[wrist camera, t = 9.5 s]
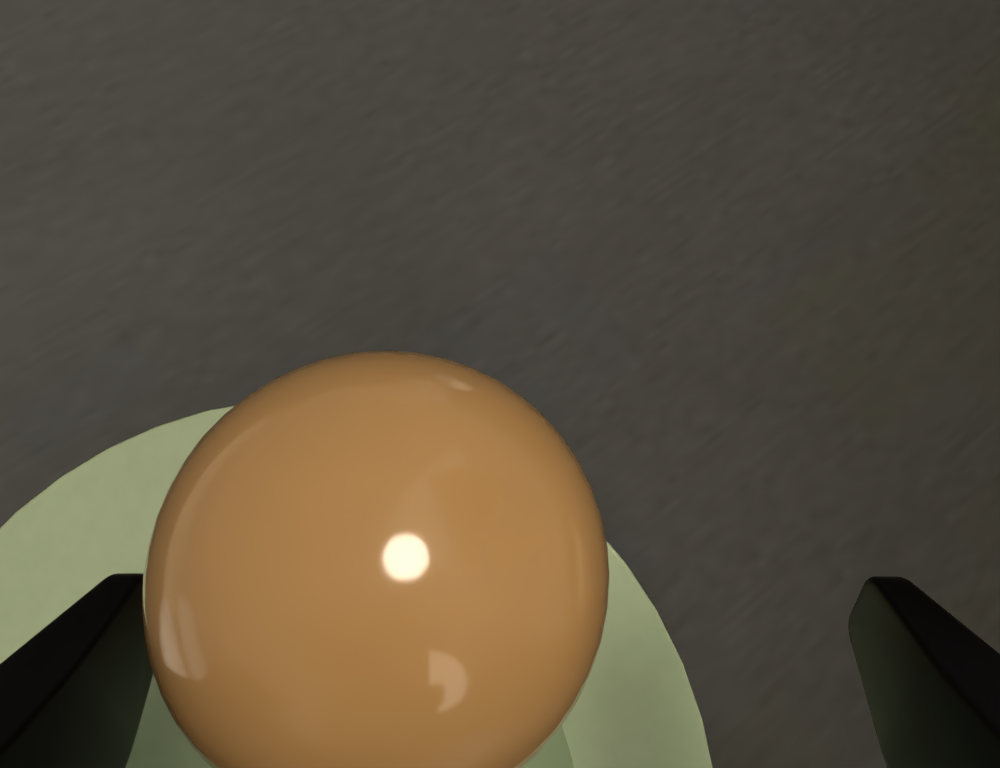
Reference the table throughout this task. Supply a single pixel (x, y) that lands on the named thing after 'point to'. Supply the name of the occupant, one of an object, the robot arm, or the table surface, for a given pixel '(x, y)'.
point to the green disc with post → (364, 582)
